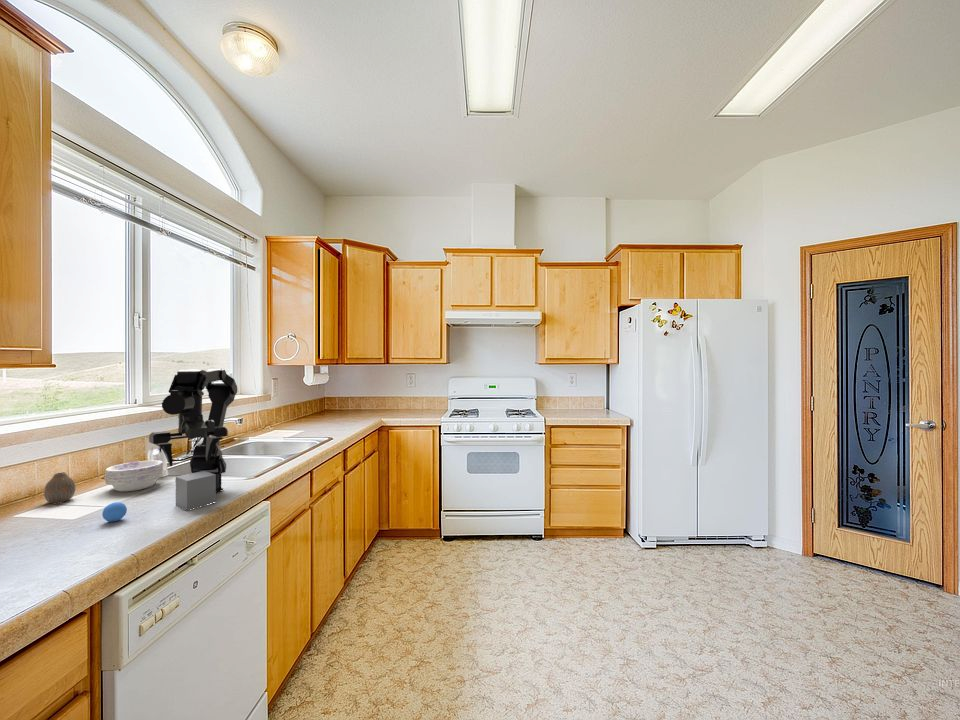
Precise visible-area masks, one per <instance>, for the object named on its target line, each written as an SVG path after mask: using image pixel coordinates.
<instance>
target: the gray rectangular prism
mask: <svg viewBox="0 0 960 720" xmlns="http://www.w3.org/2000/svg"><path fill="white" fill-rule="evenodd" d="M216 495H217V492H216V475H215V474H212V473H209V472H206V471H201V472H196V473H187V474H183V475H177V476H175V507H177V506H178V508H179V507H180V508H179V509H181V508H183V509H182V510H184V509H185V510H184V511H186V510H189V511H191V510H190V509H193V508H196V509H198V508H197V507H200V506H204V505H207V504H210V503H213V502H217V501H216V500H217V499H216V498H217V497H216ZM204 507H205V506H204ZM200 508H201V507H200ZM193 510H194V509H193Z"/></svg>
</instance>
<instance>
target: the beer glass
mask: <svg viewBox="0 0 960 720" xmlns="http://www.w3.org/2000/svg"><path fill="white" fill-rule="evenodd" d="M169 443H171V440H170V441H169ZM146 458H147V461H150V460H157V461H162V462H163V476H161V477H159V478H164V477H168V476H169V471H168V461H167V458H166V456H165V454H164V452H163V450H162V449H161V447H160V446H157V445H155V444H152V443H150V442H149V436H148V437H146ZM159 478H158V479H159Z"/></svg>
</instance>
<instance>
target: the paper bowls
mask: <svg viewBox="0 0 960 720" xmlns="http://www.w3.org/2000/svg"><path fill="white" fill-rule="evenodd" d="M104 472H105V473H104V474H105V477H104V479H105V482H104V483H105V485H108V486H112V487H113V489H114V490H115V491H118V492H133V491H140V490H144V489H148V488H150V487H152V486H153V485H155V483H156V482H157V480H158V479H159V477H161V476H163V462H162V461H157V460H150V461H148V460H140V461H131V462H124V463H121V464H115V465H111V466H109V467H107V468H106V469H105V471H104ZM161 478H162V477H161Z"/></svg>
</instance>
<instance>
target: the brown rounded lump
mask: <svg viewBox="0 0 960 720" xmlns="http://www.w3.org/2000/svg"><path fill="white" fill-rule="evenodd" d="M75 493H76V483H75V481H74V479H72V478H71V477H70V476H69V475H68V474H67V473H66V472H56V473H54V474H53V476H52V477H51V478H50V479H49V480H48V482H46V484H45V487H44V489H43V497H44V499H45V501H46V502H47V503H49V504H52V503H56V504H61V503H60V502H62V503H65V502H64V501H66V502H69V500H71V499H72V498H73V497H74V495H75Z"/></svg>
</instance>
